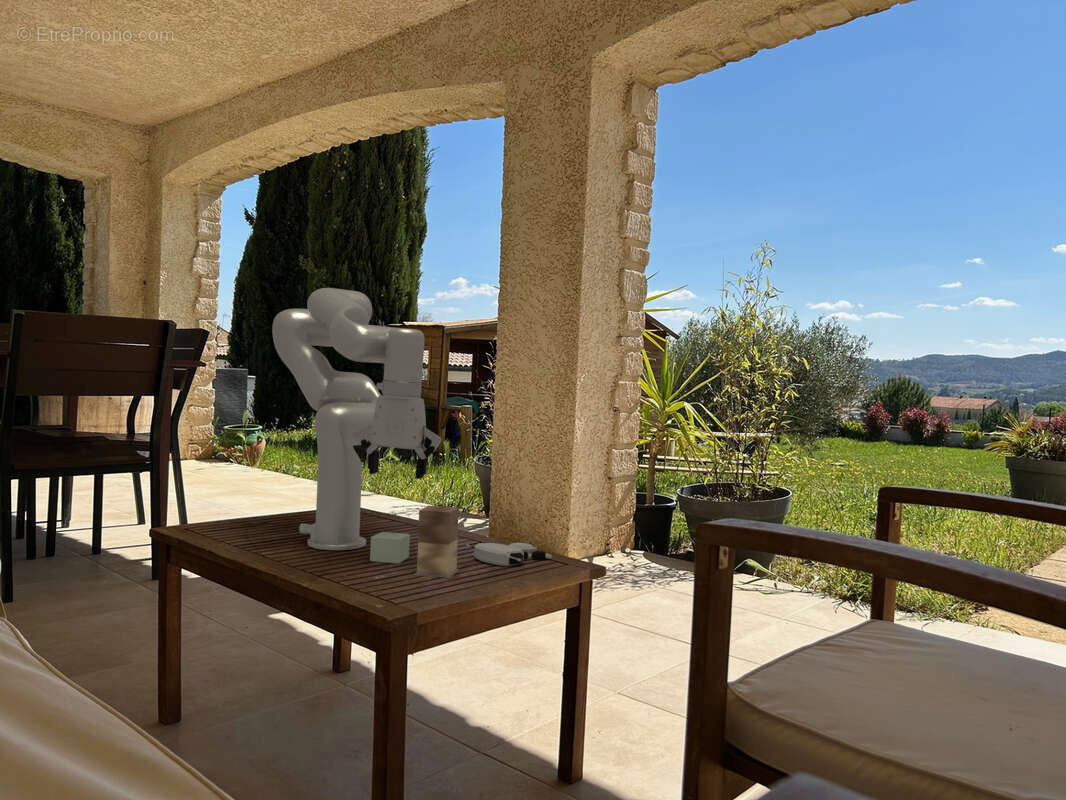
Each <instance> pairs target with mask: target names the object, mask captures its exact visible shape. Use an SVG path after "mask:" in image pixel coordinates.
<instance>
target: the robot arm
mask: <svg viewBox="0 0 1066 800" xmlns="http://www.w3.org/2000/svg"><path fill="white" fill-rule="evenodd" d="M306 303H307V304H306V305H307V306H306V307H307V308H288V309H284V310H281V311H280V312H279V313H278V314H276V316H275V317H274V319H273V322H272V327H271V329H272V330H271V331H272V332H271V333H272V338H273V339H272V340H273V344H274V348H275V350H276V353H277V354H278V357H280V360H281V361H282V363H283V364H285V366H286V367H287V368H288V370H290V372H291V374H292V375H293V377H294V379H295V380H296V382H297V384H298V387H299V388H300V390H301V392H302V394H303V395H304V397H305V399H306V401H307V403H308V404H309V406H310V407H311V408H312V410H314V411H316V413H315V418H314V427H315V428H314V429H315V435H316V436H315V437H316V444H317V480H316V482H317V483H316V486H317V487H316V501H315V502H316V504H315V505H316V508H315V509H316V510H315V523H312V524H309V523H300V525H299V528H298V530H299V533H300V534H305V535H306V534H307V535H309V536H310V538H308V539H307V546H308V547H310V548H313V549H316V550H322V551H323V550H325V551H349V550H356V549H361V548H363V547H366V545H367V539H366V538H365V537H363V536H360V527H361V505H362V503H361V501H362V481H363V480H362V478H363V466H362V461H361V459H360V457H359V455H358V454H357V452H356V450H355V448H354V446H362V447H363V448H364V450H365V451H366V454H368V456H367V459H368V460H367V469H368V473H369V475H374V474H377V473H378V472H379V466H380V465H379V464H380V463H379V462H380V452H378V451H379V449H381V447H383V448H392V449H393V448H394V449H403V450H404V449H405V450H414V451H415V453H416V454H417V456H418V458H417V459H416V463H415V464H416V466H415V467H416V468H415V479H416V480H421V479H422V478H424V476H425V475H426V473H427V465H428V464H427V463H428V458H430V456H431V455H432V454H434V453H435V452H436V451H437V448H438V447H439V445H440V444H441V442H442V440H443V439H442V437H441V436H439V435H438V434H436V433H434V432H433V431H431V430H430V429H428V428H427V426H426V425H427V423H426V422H427V421H426V420H427V419H426V408H425V401H424V398H422V397H421V395H422V383H423V382H422V381H423V370H424V369H423V367H424V354H425V339H426V337H425V335H424V333H423V332H422V331H421V330H419V329H413V328H404V327H402V328H401V327H394V326H393V327H391V326H384V325H382V326H381V325H373V324H369V323H370V320H371V319H372V315H373V307H372V302H371V299H370V298H369V297H368V296H367V295H366V294H364V293H362V292H360V291H356V290H349V289H341V288H335V287H322V288H318V289H316V290H314V291H313V292H312V293H311V294H310V296H309V297H308V299H307V302H306ZM313 346H318V347H330V348H331V347H333V349H334V350H335V351H336V352H338V353H339V354H340V355H341V356H343V357H344V358H346V359H348V360H350V361H353V362H359V363H374V364H375V363H377V364H384V368H383V380H382V382H377V383H376V385H375V383H374V381H373V380H372V379H371V378H370V377H369V376H367V375H365V374H363V373H360V372H351V371H350V372H349V371H347V372H346V371H338V370H335V369H334V368H333V367H332V365H331V364H330V362H329V360H328V359H327V357H326V356H325V355H324V354H323V353H322V352H321V351H320V350H318V349H316V347H313ZM379 390H380V391H381V393H380V391H379ZM426 438H428V439H429V440H430V441H431V443H430V445H429V447H427V448H426V447H425V444H426V443H425V442H426Z"/></svg>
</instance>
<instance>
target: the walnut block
mask: <svg viewBox="0 0 1066 800" xmlns="http://www.w3.org/2000/svg"><path fill="white" fill-rule="evenodd" d="M459 509H460V508H459V507H455V506H454V507H453V506H451V507H450V506H442V505H441V506H439V505H426V506H425V507H423V508H421V509H419V511H418V529H417V530H418V532H417V543H418V542H422V543H434V544H446V545H449V544H451V543H452V542H453V541H455V540H456V539H458V532H459V516H460V515H459V512H460V510H459Z"/></svg>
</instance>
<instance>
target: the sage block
mask: <svg viewBox="0 0 1066 800" xmlns="http://www.w3.org/2000/svg"><path fill="white" fill-rule="evenodd" d="M410 535H411V534H409V533H401V532H390V531H389V532H388V531H381V532H378V533H377V534H374V535H372V536H371V537H370V551H369V554H370V555H369V561H370V562H380V563H391V564H400V563H402V562H404V561H405V560H407V559H408V558H409V557H410V540H411V536H410Z"/></svg>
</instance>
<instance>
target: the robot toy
mask: <svg viewBox="0 0 1066 800" xmlns="http://www.w3.org/2000/svg"><path fill="white" fill-rule="evenodd" d="M466 547H469V548H473V549H474V550H473V556H474V557H475V559H476V560H478V561H480V562H483V563H487V564H491V565H496V566H501V567H502V566H503V567H513V566H519V565H522V564H523V563H524V561H527V560H535V561H546V559H552V557H553V555H552V554H550V553H546V552H545V551H543V550H538V547H536V546H533V545H532V544H530V543H526V542H514V543H513V542H511V543H510V544H508V545H507V544H503V543H498V542H497V543H495V542H479V543H477V544H476V545H475V546H474V545H470V544H468V543H467V544H466Z"/></svg>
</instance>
